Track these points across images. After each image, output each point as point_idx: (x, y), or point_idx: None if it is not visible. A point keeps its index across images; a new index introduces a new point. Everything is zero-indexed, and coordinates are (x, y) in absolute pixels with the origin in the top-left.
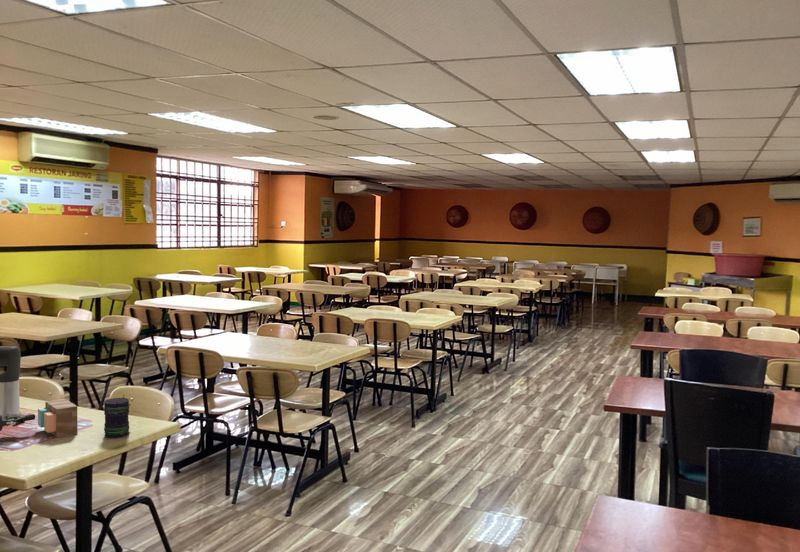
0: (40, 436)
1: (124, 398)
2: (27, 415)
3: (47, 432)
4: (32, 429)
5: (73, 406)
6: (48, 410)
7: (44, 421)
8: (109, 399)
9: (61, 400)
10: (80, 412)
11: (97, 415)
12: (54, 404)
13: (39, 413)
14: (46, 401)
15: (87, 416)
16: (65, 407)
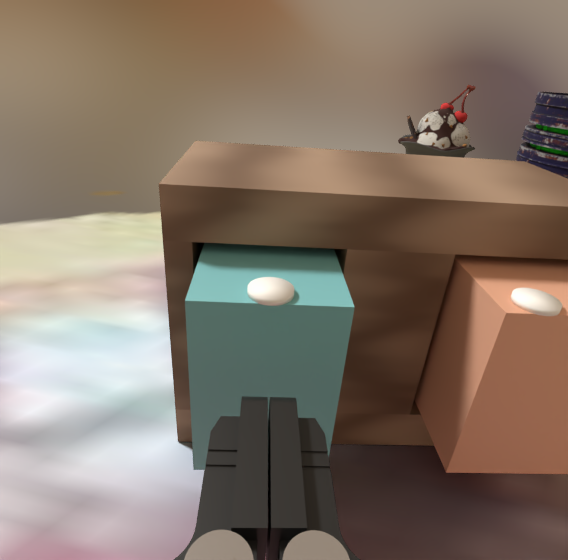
0: (451, 552)
1: (546, 93)
2: (296, 488)
3: (565, 473)
4: (94, 548)
5: (530, 166)
6: (338, 270)
7: (487, 399)
8: (563, 97)
9: (241, 152)
10: (7, 249)
11: (145, 236)
12: (383, 185)
13: (266, 348)
14: (169, 180)
15: (120, 253)
16: (561, 182)
